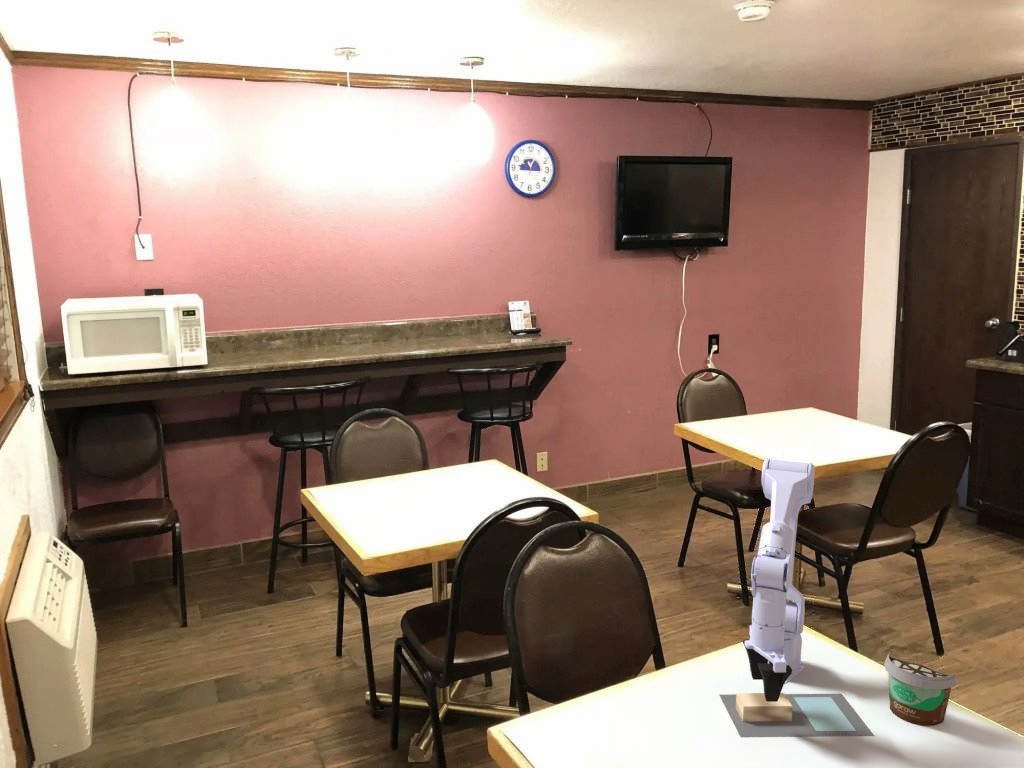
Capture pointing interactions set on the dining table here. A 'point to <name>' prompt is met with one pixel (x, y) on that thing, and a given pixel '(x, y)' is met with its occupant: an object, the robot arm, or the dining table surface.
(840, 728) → the mat
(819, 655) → the dining table surface
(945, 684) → the food container
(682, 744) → the dining table surface
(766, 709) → the tan wooden block
